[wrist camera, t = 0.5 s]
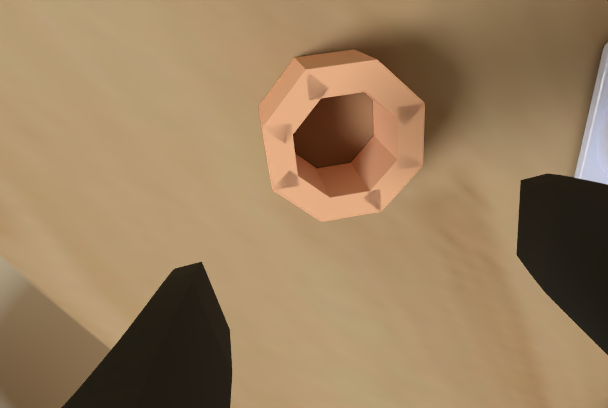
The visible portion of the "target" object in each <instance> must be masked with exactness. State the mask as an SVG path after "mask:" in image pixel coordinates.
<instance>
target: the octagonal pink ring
mask: <svg viewBox="0 0 608 408" xmlns="http://www.w3.org/2000/svg"><path fill="white" fill-rule="evenodd" d="M361 92H364V93H365V94H366V95H368V96H369V97H370V98H371V99H372V100H373V124H374V136H373V137H372V138H371V139H370V141H369V142H368V143H367V144H366V145H365V147H364V148H363V149H362V150H361V151H360V152H359V154H358V155H357V156H356V157H355V158H354V159H353V161H352V162H351V163H347V164H340V165H334V166H328V167H322V168H315V167H314V166H312V165H311V164H310V163H308V162H307V161H305V160H304V159H303V158H301V157H300V156H298V155H297V154H295V149H294V141H293V134H294V133H295V131H296V130H297V129H298V127H299V126H300V125H301V124H302V122H303V121H304V120H305V118H306V117H307V116H308V115H309V113H310V112H311V111H312V109H313V108H314V107H315V106H316V104H317V103H318V102H319V100H320V99H321V98H327V97H334V96H341V95H348V94H354V93H361ZM259 113H260V119H261V125H262V131H263V138H264V144H265V150H266V156H267V162H268V167H269V173H270V178H271V184H272V189H273V191H275V192H276V193H278V194H279V195H281V196H282V197H284V198H285V199H287V200H289V201H290V202H292V203H293V204H295V205H296V206H298V207H299V208H301V209H303V210H304V211H306V212H307V213H309V214H310V215H312V216H313V217H315V218H316V219H318V220H320V221H321V222H324V221H330V220H335V219H341V218H347V217H353V216H359V215H365V214H370V213H376V212H381V211H382V210H383V209H384V208H385V207H386V205H387V204H388V203H389V202H390V201H391V200H392V199H393V198H394V197H395V196H396V195H397V194H398V192H399V191H400V190H401V189H402V188H403V187H404V186H405V185H406V184H407V183H408V182H409V180H410V179H411V178H412V177H413V176H414V175H415V174H416V173H417V172H418V171H419V170H420V168H421V167H422V166H423V150H424V118H425V103H424V102H423V101H422V100H421V99H420V98H419V97H418V96H417V95H416V94H414V93H413V92H412V91H411V90H410V89H409V88H408V87H407V86H406V85H405V84H404V83H402V82H401V81H400V80H399V79H398V78H397V77H396V76H395V75H394V74H393V73H391V72H390V71H389V70H388V69H387V68H386V67H385V66H384V65H383V64H382V63H381V62H379V61H378V60H377V59H375V58H373V57H370V56H368V55H366V54H364V53H361V52H359V51H357V50H355V49H352V50H345V51H338V52H330V53H323V54H316V55H309V56H302V57H294V59H293V60H292V61H291V63H290V64H289V66H288V67H287V68H286V70H285V71H284V72H283V74H282V75H281V77H280V78H279V79H278V81H277V82H276V83H275V85H274V86H273V87H272V89H271V90H270V92H269V93H268V94H267V96H266V97H265V98H264V100H263V101H262V103H261V104H260V105H259Z"/></svg>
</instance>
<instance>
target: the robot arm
mask: <svg viewBox="0 0 608 408" xmlns="http://www.w3.org/2000/svg"><path fill="white" fill-rule="evenodd" d="M517 256H518V257H519V259H520V260H521V262H522V263H523V264H524V266H525V267H526V268H527V270H528V271H529V273H530V274H531V275H532V276H533V278H534V279H535V280H536V282H537V283H538V284H539V285H540V287H541V288H542V289H543V290H544V291H545V293H546V294H547V295H548V296H549V297H550V298H551V299H552V300H553V301H554V302H555V303H556V304H557V305H558V306H559V307H560V308H561V309H562V310H563V311H564V312H565V313H566V314H567V315H568V316H569V317H570V318H571V319H572V320H573V321H574V322H575V323H576V324H577V325H578V326H579V327H580V328H581V329H582V330H583V331H584V332H585V333H586V334H587V335H588V336H589V337H590V338H591V339H592V340H593V341H594V342H595V343H596V344H597V345H598V346H599V347H600V348H601V349H602V350H603V351H604V352H605V353H606V354H607V355H608V42H607V43H606V45H605V47H604V49H603V52H602V57H601V61H600V66H599V70H598V75H597V79H596V83H595V88H594V92H593V97H592V101H591V105H590V110H589V114H588V119H587V123H586V128H585V132H584V136H583V141H582V145H581V150H580V154H579V158H578V163H577V167H576V172H575V176H574V177H568V176H562V175H555V174H544V175H540V176H536V177H532V178H528V179H524V180H521V186H520V204H519V222H518V240H517ZM231 384H232V359H231V342H230V329H229V327H228V324H227V322H226V320H225V317H224V315H223V312H222V310H221V307H220V305H219V303H218V300H217V298H216V295H215V293H214V290H213V288H212V286H211V283H210V281H209V278H208V276H207V273H206V271H205V269H204V266H203V264H202V262H199V263H195V264H191V265H187V266H184V267H180V268H176V269H174V270H173V271H172V272H171V273H170V275H169V276H168V277H167V278H166V280H165V281H164V282H163V283H162V285H161V286H160V287H159V289H158V290H157V291H156V293H155V294H154V295H153V297H152V298H151V299H150V301H149V302H148V303H147V305H146V306H145V307H144V309H143V310H142V311H141V313H140V314H139V315H138V317H137V318H136V319H135V320H134V322H133V323H132V324H131V326H130V327H129V328H128V330H127V331H126V332H125V334H124V335H123V336H122V337H121V339H120V340H119V341H118V342H117V344H116V345H115V346H114V347H113V348H112V350H111V351H110V352H109V353H108V354H107V356H106V357H105V358H104V359H103V361H102V362H101V363H100V364H99V365H98V367H97V368H96V369H95V370H94V371H93V372H92V374H91V375H90V376H89V377H88V378H87V380H86V381H85V382H84V383H83V384H82V386H81V387H80V388H79V389H78V390H77V391H76V393H75V394H74V395H73V396H72V397H71V398H70V399H69V400H68V401H67V402H66V404H65V405H64V406H63V407H62V408H230V400H231Z"/></svg>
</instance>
